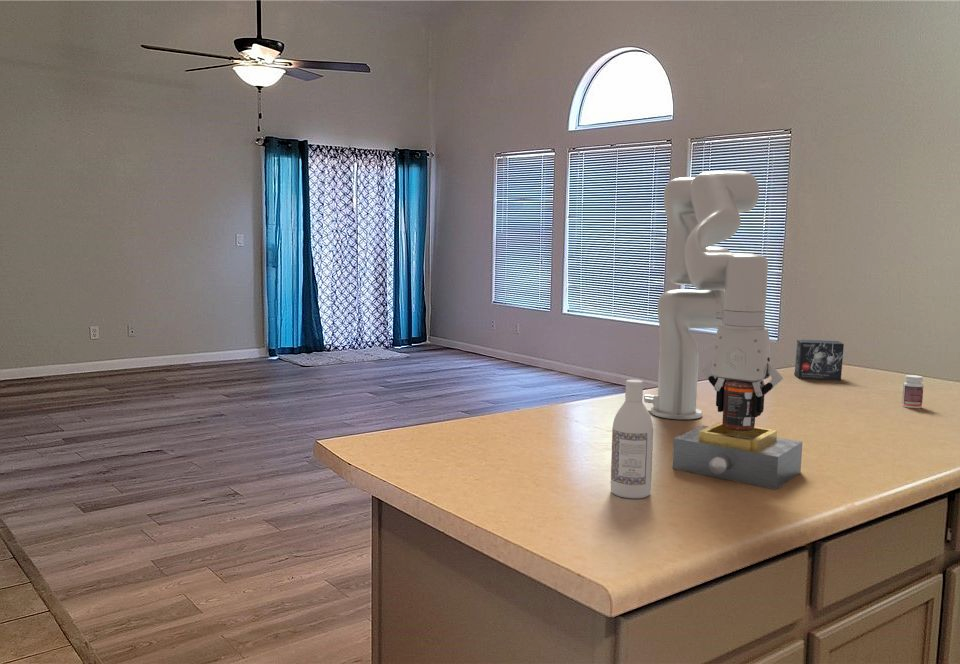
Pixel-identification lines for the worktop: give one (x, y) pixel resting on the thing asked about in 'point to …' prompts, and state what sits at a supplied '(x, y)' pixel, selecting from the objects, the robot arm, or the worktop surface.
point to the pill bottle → (912, 392)
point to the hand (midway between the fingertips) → (739, 412)
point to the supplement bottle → (738, 405)
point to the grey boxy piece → (738, 455)
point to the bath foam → (632, 446)
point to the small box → (819, 359)
